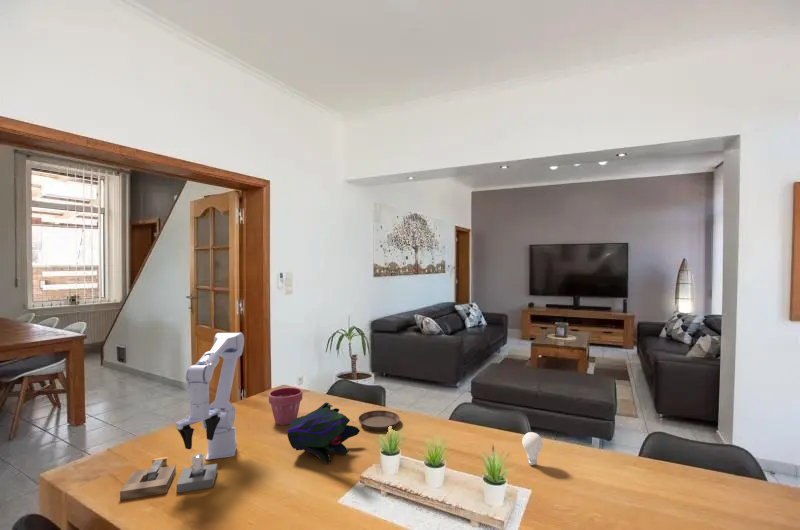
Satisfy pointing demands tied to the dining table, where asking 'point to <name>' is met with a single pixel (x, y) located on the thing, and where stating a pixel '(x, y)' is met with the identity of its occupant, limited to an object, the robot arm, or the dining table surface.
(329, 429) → the decorative plant
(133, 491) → the socket block
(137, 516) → the dining table surface
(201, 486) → the block
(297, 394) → the plant pot
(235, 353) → the robot arm
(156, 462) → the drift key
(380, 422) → the plant saucer
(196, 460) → the peg
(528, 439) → the light bulb
